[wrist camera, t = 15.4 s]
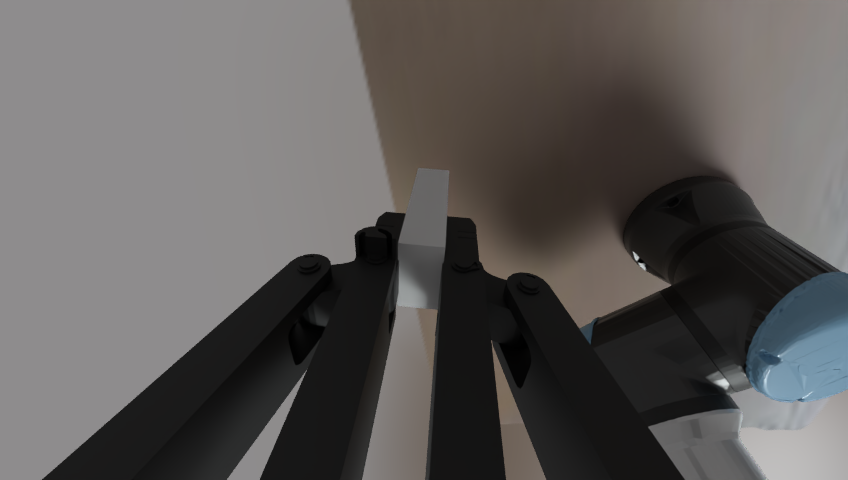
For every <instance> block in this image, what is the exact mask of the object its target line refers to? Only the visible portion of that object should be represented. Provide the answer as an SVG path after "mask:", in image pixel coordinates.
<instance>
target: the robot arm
mask: <svg viewBox="0 0 848 480" xmlns="http://www.w3.org/2000/svg"><path fill="white" fill-rule="evenodd" d="M448 186H449V170H438V169H426V168H418V171H417V175H416V178H415V182H414V186H413V190H412V193H411V197H410V201H409V204H408V208H407V212H406V214H404V213H393V212H385V213H384V214H383V215H381V216H380V217H379V218H378V220H377V223H376V226H375V227H374V226H373V227H368V228H363V229H362V230H360V231H358V232H357V233H356V234H355V247H356V258H355V260H354V261H352V262H349V263H344V264H336V265H331V263H330V261H329V259H328V258H327V257H325V256H322V255H318V254H308V255H303V256H300V257H297V258H296V259H294V260H293V261H291V262H290V263H289V264H288V265H286V266H285V267H284V268H283V269H282V270H281V271H280V272H279V273H277V274H276V275H275V276H274V277H273V278H272V279H270V280H269V281H268V282H267V283H266V284H265V285H264V286H262V287H261V288H260V289H259V290H258V291H257V292H256V293H254V295H252V296H251V297H250V298H249V299H248V300H246V301H245V302H244V303H243V304H242V305H241V306H240V307H239V308H238V309H236V310H235V311H234V312H233V313H232V314H231V315H229V316H228V317H227V318H226V319H225V320H224V321H223V322H221V323H220V324H219V325H218V326H217V327H216V328H215V329H213V330H212V331H211V332H210V333H209V334H208V335H207V336H205V337H204V338H203V339H202V340H201V341H200V342H199V343H197V344H196V345H195V346H194V347H193V348H192V349H191V350H189V352H187V353H186V354H185V355H184V356H183V357H181V358H180V359H179V360H178V361H177V362H176V363H175V364H173V365H172V366H171V367H170V368H169V369H168V370H167V371H165V372H164V373H163V374H162V375H161V376H160V377H159V378H157V379H156V380H155V381H154V382H153V383H152V384H151V385H149V386H148V387H147V388H146V389H145V390H144V391H143V392H141V393H140V394H139V395H138V396H137V397H136V398H135V399H133V401H131V402H130V403H129V404H128V405H127V406H126V407H124V408H123V409H122V410H121V411H120V412H119V413H118V414H116V415H115V416H114V417H113V418H112V419H111V420H110V421H108V422H107V423H106V424H105V425H104V426H103V427H102V428H101V429H99V430H98V431H97V432H96V433H95V434H94V435H92V436H91V437H90V438H89V439H88V440H87V441H86V442H85V443H83V444H82V445H81V446H80V447H79V448H78V449H77V450H75V451H74V452H73V453H72V454H71V455H70V456H68V457H67V458H66V459H65V460H64V461H63V462H62V463H61V464H59V465H58V466H57V467H56V468H55V469H54V470H53V471H51V472H50V473H49V474H48V475H47V476H46V477H44V479H42V480H227V478H228V477H229V476H230V474H231V473H232V472H233V470H234V469H235V467H236V466H237V465H238V463H239V462H240V460H241V459H242V458H243V456H244V455H245V454H246V452H247V451H248V450H249V448H250V447H251V445H252V444H253V443H254V441H255V440H256V439H257V437H258V436H259V434H260V433H261V432H262V430H263V429H264V428H265V426H266V425H267V423H268V422H269V421H270V419H271V418H272V417H273V415H274V414H275V413H276V411H277V410H278V408H279V407H280V406H281V404H282V403H283V402H284V400H285V399H286V397H287V396H288V395H289V393H290V392H291V390H292V389H293V388H294V386H295V385H296V384H297V382H298V381H299V380H300V378H301V377H302V375H303V374H304V373H305V371H306V370H307V372H306V374H305V376H304V378H303V381H302V383H301V385H300V388H299V390H298V392H297V395H296V397H295V399H294V401H293V404H292V407H291V408H290V411H289V413H288V415H287V418H286V420H285V422H284V425H283V427H282V429H281V432H280V434H279V436H278V439H277V441H276V443H275V445H274V448H273V450H272V452H271V455H270V457H269V459H268V462H267V464H266V466H265V469H264V471H263V473H262V476H261V478H260V480H362V477H363V472H364V466H365V462H366V457H367V452H368V448H369V442H370V438H371V433H372V428H373V423H374V418H375V414H376V409H377V404H378V399H379V394H380V389H381V385H382V380H383V375H384V370H385V365H386V360H387V356H388V351H389V346H390V341H391V336H392V331H393V327H394V322H395V316H396V310H395V309H396V302H397V305H398V306H407V307H416V308H426V309H436V310H438V313H437V323H436V332H435V336H436V338H435V352H434V366H433V380H432V394H431V408H430V421H429V436H428V450H427V464H426V477H425V480H506V476H505V466H504V457H503V447H502V439H501V428H500V419H499V410H498V400H497V391H496V381H495V372H494V362H493V353H492V344H491V340H492V343H493V347H494V349H495V352H496V354H497V357H498V359H499V362H500V364H501V367H502V369H503V372H504V374H505V377H506V379H507V382H508V384H509V387H510V389H511V392H512V394H513V397H514V399H515V402H516V404H517V407H518V409H519V412H520V414H521V417H522V419H523V422H524V424H525V427H526V429H527V432H528V434H529V437H530V439H531V442H532V444H533V447H534V449H535V452H536V454H537V457H538V460H539V462H540V465H541V467H542V469H543V472H544V475H545V477H546V480H768V479H767V478H766V476H765V475H764V473H763V472H762V470H761V469H760V468H759V466H758V465H757V463H756V462H755V460H754V459H753V458H752V456H751V455H750V453H749V452H748V450H747V449H746V447H745V446H744V445H743V443H742V441H741V439H740V436H739V433H740V429H741V424H742V419H743V413H742V411H741V410H740V409H739V407H738V406H737V405H736V403H735V402H734V401H733V399H732V398H731V397H730V394H732V393H735V392H739V391H742V390H746V389H749V388H752V387H754V389H755V390H756V391H758V392H760V393H762V394H764V395H765V396H767V397H769V398H771V399H773V400H777V401H781V402H794V401H796V400H798V401H801V402H808V401H814V400H819V399H822V398H826V397H830V396H832V395H835V394H838V393H840V392H843V391H845V390H847V389H848V274H847V273H845V272H841V271H840V270H838V269H837V268H835V267H833V266H832V265H830V264H829V263H827V262H825V261H824V260H822V259H821V258H819V257H817V256H816V255H814V254H813V253H811V252H809V251H808V250H806V249H805V248H803V247H802V246H800V245H798V244H797V243H795V242H794V241H792V240H790V239H789V238H787V237H786V236H784V235H782V234H781V233H779V232H777V231H776V230H774V229H773V228H771V227H770V226H768V225H767V223H766V222H765V220H764V218H763V217H762V215H761V214H760V212H759V211H758V209H757V208H756V206H755V205H754V202H753V200H752V199H751V197H750V196H749V195H748V194H747V193H746V192H745V191H743V190H742V189H740V188H739V187H737V186H735V185H734V184H732V183H730V182H728V181H726V180H724V179H720V178H716V177H708V176H700V177H691V178H686V179H682V180H679V181H676V182H673V183H671V184H668V185H666V186H664V187H662V188H660V189H659V190H657V191H655V192H654V193H652V194H651V195H650V196H648V197H647V198H646V199H645V200H644V201H642V202H641V203H640V204H639V206H638V207H637V208H636V209H635V210H634V212H633V213H632V214H631V216H630V218H629V220H628V222H627V224H626V227H625V231H624V244H625V247H626V250H627V252H628V253H629V255H630V256H631V257H632V259H633V260H634V261H635V262H636V263H637V264H638V265H639V266H640V267H641V268H642V269H644V270H645V271H647V272H649V273H651V274H653V275H654V276H656V277H658V278H660V279H662V280H663V281H665V282H667V283H669V284H671V286H670V287H668V288H665V289H663V290H661V291H658V292H656V293H654V294H652V295H650V296H647V297H645V298H643V299H641V300H639V301H637V302H634V303H632V304H630V305H628V306H625V307H623V308H621V309H619V310H616V311H614V312H612V313H610V314H607V315H605V316H603V317H597V318H595V319H594V320H593V321H592V322H591V323H589V324H587V325H585V326H583V327H582V328H580V329H579V328H578V326H577V325H576V323H575V322H574V320H573V319H572V318H571V316H570V315H569V313H568V312H567V310H566V309H565V308H564V306H563V305H562V303H561V302H560V300H559V299H558V298H557V296H556V295H555V293H554V292H553V290H552V289H551V288H550V286H549V285H548V284H547V283H546V282H545V281H544V280H543V279H541V278H540V277H538V276H536V275H533V274H529V273H515V274H512V275H511V276H509V277H508V279H507V280H504V279H501V278H498V277H495V276H493V275H491V274H489V273H487V272H486V271H485V270H484V268H483V266H482V263H481V262H480V261H479V254H478V244H477V234H476V225H475V224H474V223H473V221H472V220H471V219H470V218H460V217H448V216H447V206H448ZM734 391H735V392H734Z"/></svg>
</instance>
